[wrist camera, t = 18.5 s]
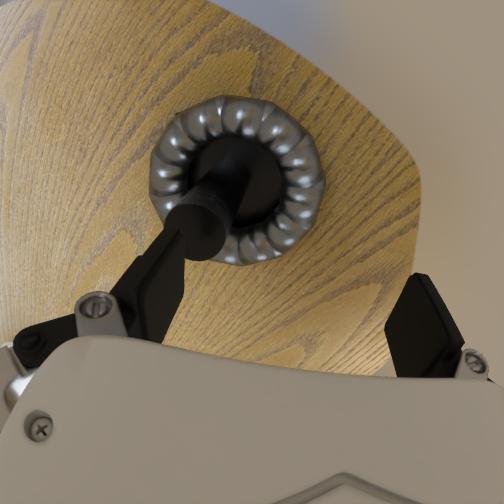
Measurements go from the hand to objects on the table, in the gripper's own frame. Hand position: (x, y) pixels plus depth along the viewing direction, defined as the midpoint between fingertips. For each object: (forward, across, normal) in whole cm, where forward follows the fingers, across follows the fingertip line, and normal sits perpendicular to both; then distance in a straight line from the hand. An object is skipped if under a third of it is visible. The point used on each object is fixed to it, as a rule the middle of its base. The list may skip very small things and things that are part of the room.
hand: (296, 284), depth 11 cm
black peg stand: (+13, +5, 0) cm, 13 cm away
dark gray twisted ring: (+10, +4, 0) cm, 11 cm away
